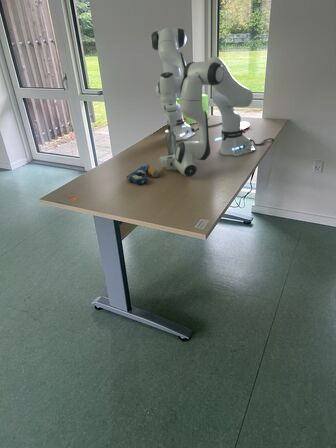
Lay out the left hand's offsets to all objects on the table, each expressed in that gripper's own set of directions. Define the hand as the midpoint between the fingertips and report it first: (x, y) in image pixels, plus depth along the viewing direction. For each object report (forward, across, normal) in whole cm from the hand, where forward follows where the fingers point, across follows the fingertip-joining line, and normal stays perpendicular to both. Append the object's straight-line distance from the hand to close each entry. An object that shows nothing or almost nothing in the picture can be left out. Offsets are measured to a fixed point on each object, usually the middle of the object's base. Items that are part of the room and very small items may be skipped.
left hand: (170, 129), depth 194 cm
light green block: (+21, -95, +33) cm, 102 cm away
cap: (-2, 0, 0) cm, 2 cm away
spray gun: (+21, +16, -20) cm, 33 cm away
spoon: (+21, -46, +60) cm, 78 cm away
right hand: (+15, -1, 0) cm, 16 cm away
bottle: (+21, 0, 0) cm, 21 cm away
